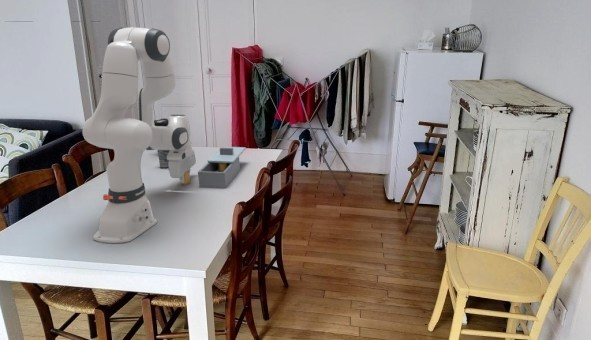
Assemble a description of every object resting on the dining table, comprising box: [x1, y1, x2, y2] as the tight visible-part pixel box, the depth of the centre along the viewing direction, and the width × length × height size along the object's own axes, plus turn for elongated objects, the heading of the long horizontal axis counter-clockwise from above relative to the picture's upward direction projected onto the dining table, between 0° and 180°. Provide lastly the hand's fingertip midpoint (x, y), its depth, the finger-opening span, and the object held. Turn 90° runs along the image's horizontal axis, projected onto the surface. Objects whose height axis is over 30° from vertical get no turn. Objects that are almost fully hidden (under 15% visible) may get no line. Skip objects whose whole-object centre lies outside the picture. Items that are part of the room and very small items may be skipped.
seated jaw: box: [219, 163, 227, 172], centre depth 191 cm, size 4×4×6 cm
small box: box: [157, 150, 170, 169], centre depth 206 cm, size 11×6×10 cm, turn 84°
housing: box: [197, 156, 241, 189], centre depth 187 cm, size 22×12×8 cm, turn 171°
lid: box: [207, 146, 247, 163], centre depth 196 cm, size 22×12×4 cm, turn 171°
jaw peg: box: [180, 171, 190, 185], centre depth 183 cm, size 4×4×6 cm
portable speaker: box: [153, 118, 169, 152], centre depth 223 cm, size 9×9×20 cm
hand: (185, 180), depth 183 cm, fingers closed on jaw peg, 4 cm apart
